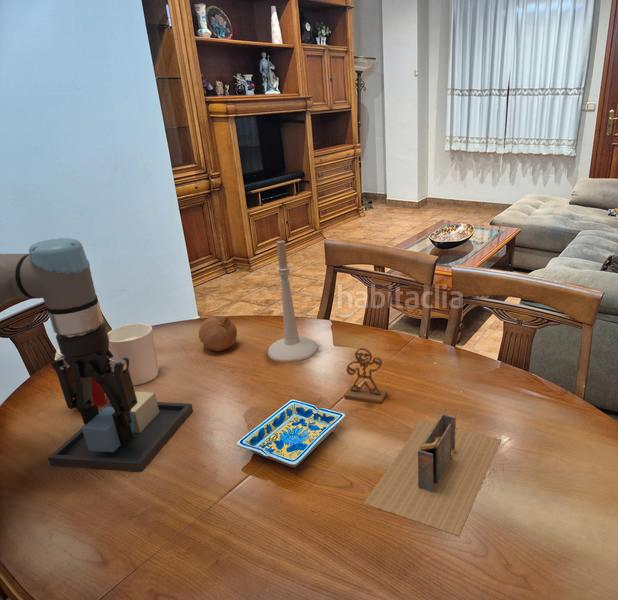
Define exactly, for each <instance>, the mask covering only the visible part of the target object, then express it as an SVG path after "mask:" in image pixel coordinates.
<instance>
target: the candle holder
mask: <svg viewBox="0 0 618 600" xmlns="http://www.w3.org/2000/svg"><path fill="white" fill-rule="evenodd" d="M107 334H108V337H109V350H110V352H111V353H112V354H113V357H115V358H118V359H121V360H122V359H123V358H128V359H129V373H130V376H131V380H132V384H133V386H139V385H140V386H141V385H143V384H144V385H145V384H146V383H149V382H151V381H153V380H155V379H156V378H157V377H158V375H159V365H158V359H157V352H156V346H155V345H156V344H155V339H154V331H153V326H151V324H148V323H142V322H139V323H137V322H136V323H129V324H124V325H120V326H118V327H115V328H113V329H111V330H109V331H107Z"/></svg>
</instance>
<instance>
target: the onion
mask: <svg viewBox="0 0 618 600" xmlns="http://www.w3.org/2000/svg"><path fill="white" fill-rule="evenodd" d="M237 337H238V329H237V327H236V325H235V324H234V322H233V321H232V320H231V319H230V318H229V317H224V316H219V315H214V316H211V317H208V318H206V319H204V321H203V322H201V325H200V327H199V330H198V338H199V341H200V343H202V344H203V347H204V348H206V349H208V350H210V351H213V352H216V353H218V352H222V351H225V350H227V349H229V348H230V347H232V346H233V345H234V343H235V342H236V339H237Z"/></svg>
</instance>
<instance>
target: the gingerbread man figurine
mask: <svg viewBox="0 0 618 600" xmlns="http://www.w3.org/2000/svg"><path fill="white" fill-rule="evenodd" d="M359 351H365V353H363V352H359ZM363 356H364V358H363ZM354 357H355V359H356V360H353V361H351V362H349V363H348V365H347V367H346V373H347V374H348V375H349V376H354V375H355V374H356V373H357V378H356V380H355V381H354V383H353V385H350V386H349V387H348V388H347V390H346V391H345V393H344V394H343V398H344V399H346V400H351V401H358V402H366V403H372V404H378V405H382V404H383V403H384V402H385V400H386V398H387V397H388V391H387V390H383V389H382V390H381V389H379V387H378V386H377V384H376V383H375V381H374V379H373V377H372V373H373V372H377V371H378V370H379V369H380V368H381V367H382V363H383V360H382V358H380V357H379V356H376V357H374V358H373V354H372V352H371V351H370V350H369V349H368V348H366V347H358V348H357V350H356V351H355V353H354ZM372 358H373V359H372ZM371 360H372V362H371ZM352 364H353V365H354V364H359V367H355V368H353V367H351V365H352ZM374 364H375V365H377V366H378V367H377V368H374V369H371V368H370V369H369V370H368V374H369V375H367V371H366V370H367V368H368V367H369V366H372V365H374ZM360 368H362V371H363V372H362V374H361V373H360ZM359 379H364V381H363V383H362V385H361V386H359V385H357V382H358V380H359ZM367 380H369V381H370V383H371V384H372V386H373V388H371V386H370V385H369V383H368V382H367ZM364 385H365V387H363V386H364Z"/></svg>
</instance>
